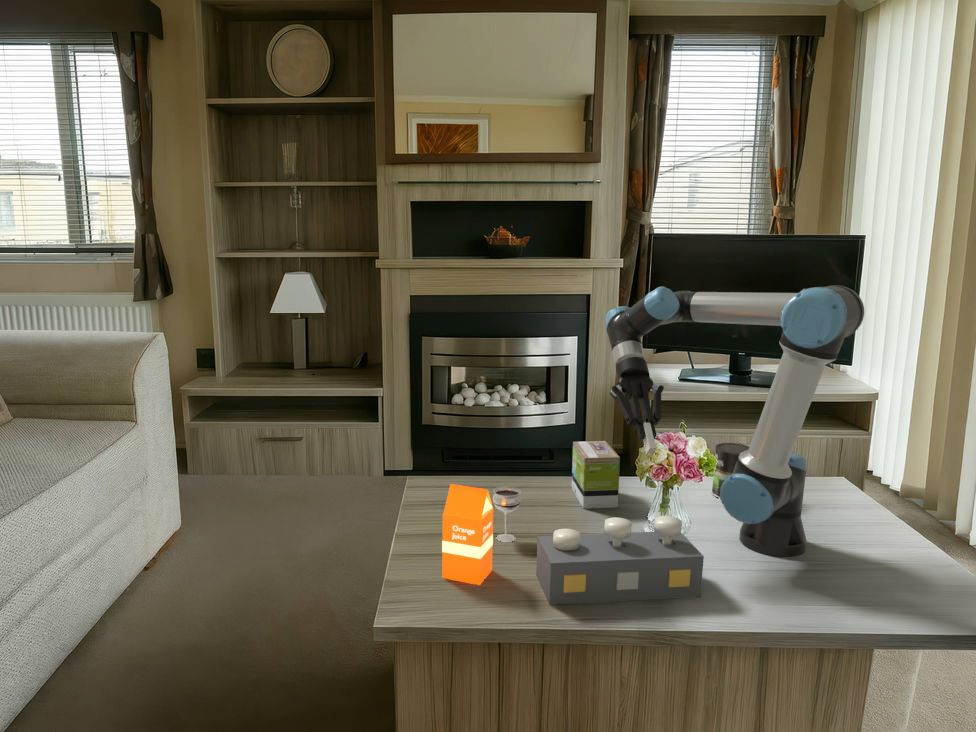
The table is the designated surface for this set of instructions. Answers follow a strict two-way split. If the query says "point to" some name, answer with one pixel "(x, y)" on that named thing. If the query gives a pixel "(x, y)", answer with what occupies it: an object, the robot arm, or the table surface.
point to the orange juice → (467, 535)
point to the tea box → (595, 474)
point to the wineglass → (506, 506)
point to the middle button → (617, 529)
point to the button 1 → (566, 539)
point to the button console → (619, 569)
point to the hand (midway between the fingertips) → (651, 450)
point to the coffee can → (725, 463)
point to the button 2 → (667, 528)
